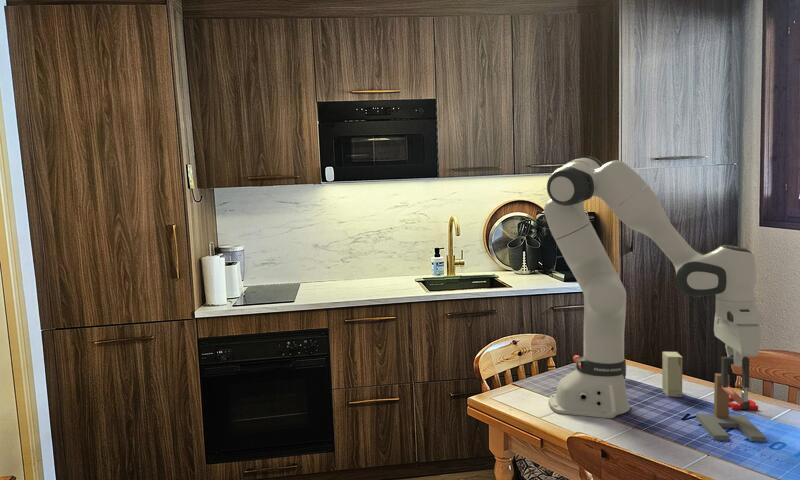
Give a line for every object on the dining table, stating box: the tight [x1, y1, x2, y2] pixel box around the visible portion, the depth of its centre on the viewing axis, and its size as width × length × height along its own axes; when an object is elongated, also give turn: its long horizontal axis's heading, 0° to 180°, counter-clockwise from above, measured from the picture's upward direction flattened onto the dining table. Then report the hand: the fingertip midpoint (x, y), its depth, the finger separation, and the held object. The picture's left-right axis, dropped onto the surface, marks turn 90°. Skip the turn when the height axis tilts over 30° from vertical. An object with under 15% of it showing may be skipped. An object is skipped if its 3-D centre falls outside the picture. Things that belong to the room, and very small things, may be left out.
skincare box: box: [661, 351, 683, 398], centre depth 184 cm, size 6×4×12 cm
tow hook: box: [729, 385, 759, 411], centre depth 174 cm, size 8×13×9 cm
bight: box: [720, 356, 751, 389], centre depth 154 cm, size 6×2×8 cm, turn 81°
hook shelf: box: [695, 372, 767, 442], centre depth 157 cm, size 12×14×13 cm
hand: (734, 363), depth 154 cm, fingers closed on bight, 2 cm apart
